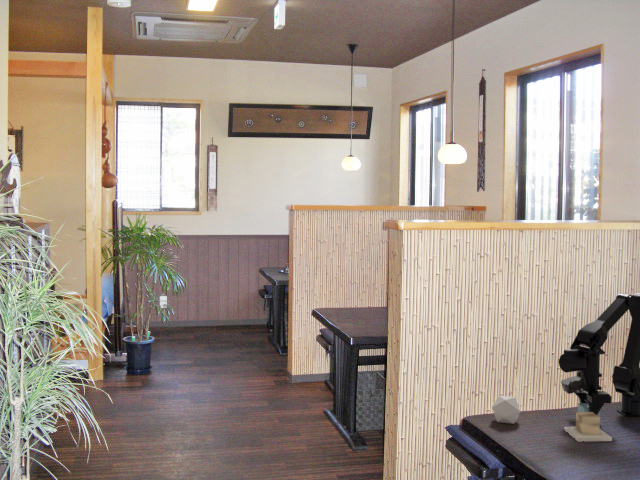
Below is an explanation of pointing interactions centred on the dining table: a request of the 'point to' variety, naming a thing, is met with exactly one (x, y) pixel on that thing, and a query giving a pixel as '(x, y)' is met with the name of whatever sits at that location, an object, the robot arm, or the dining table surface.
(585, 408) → the teal brick
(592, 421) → the maple brick
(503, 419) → the die
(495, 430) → the dining table surface
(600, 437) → the plate
